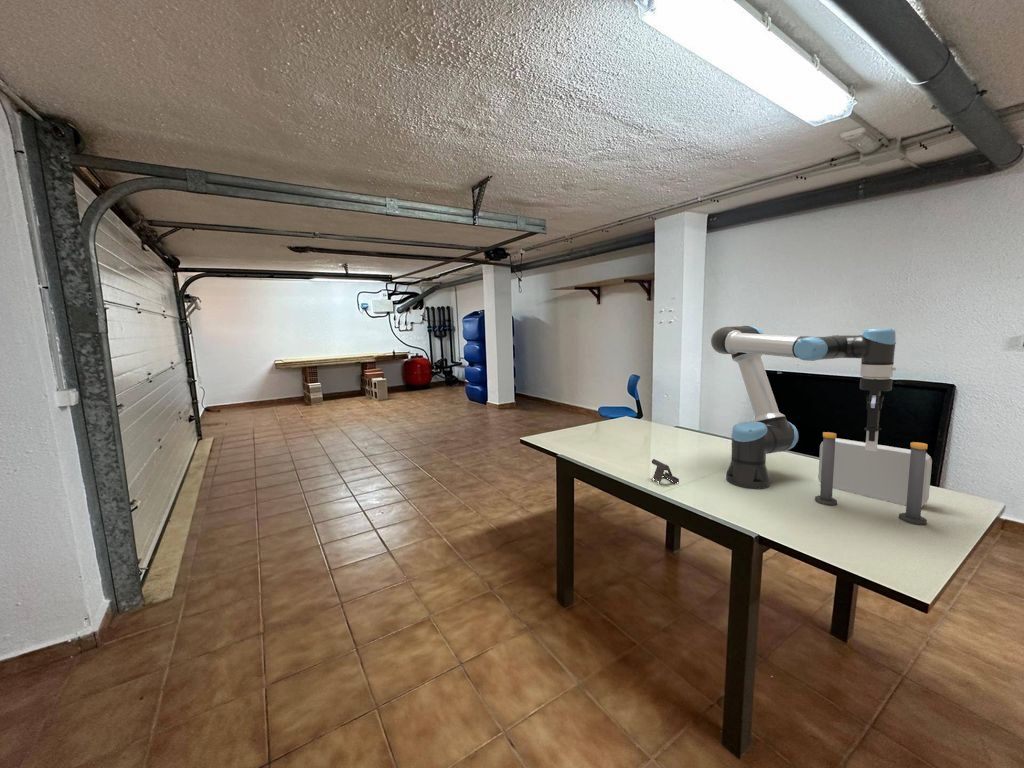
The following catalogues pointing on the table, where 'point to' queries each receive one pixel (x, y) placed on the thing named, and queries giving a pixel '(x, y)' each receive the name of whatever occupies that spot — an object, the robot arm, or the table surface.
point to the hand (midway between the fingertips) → (871, 450)
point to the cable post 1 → (827, 470)
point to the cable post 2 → (915, 485)
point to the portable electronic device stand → (660, 471)
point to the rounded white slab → (874, 471)
